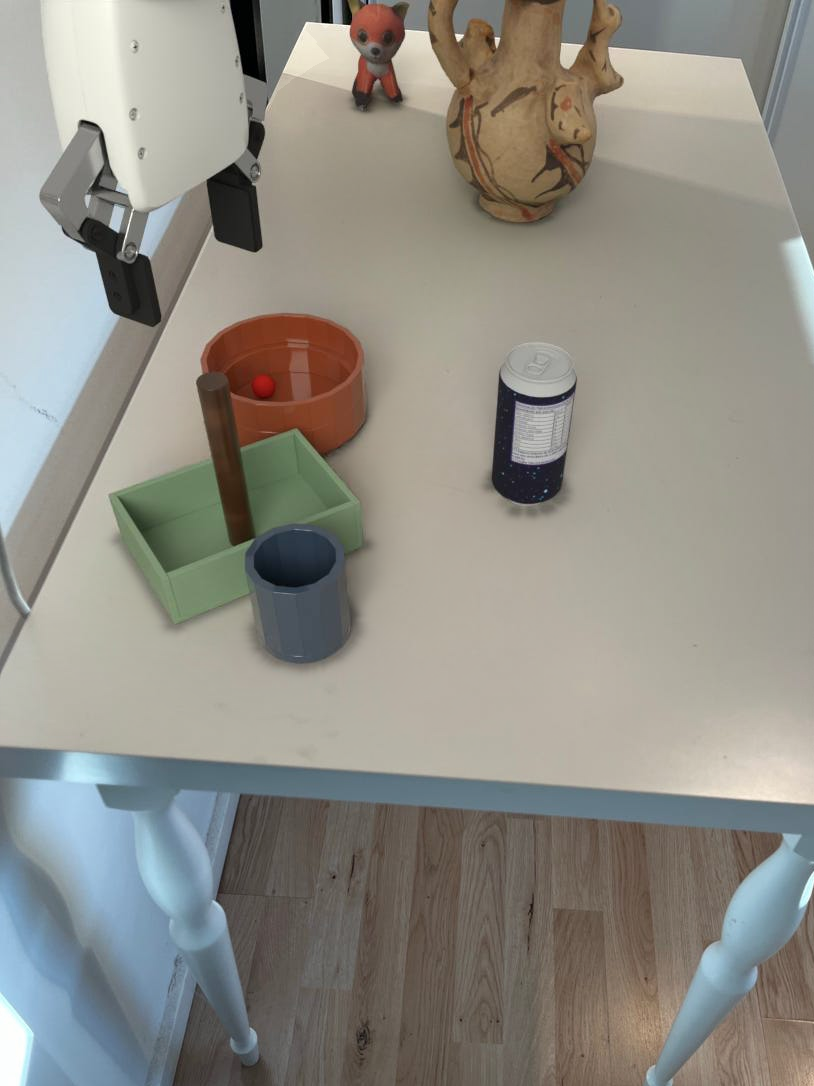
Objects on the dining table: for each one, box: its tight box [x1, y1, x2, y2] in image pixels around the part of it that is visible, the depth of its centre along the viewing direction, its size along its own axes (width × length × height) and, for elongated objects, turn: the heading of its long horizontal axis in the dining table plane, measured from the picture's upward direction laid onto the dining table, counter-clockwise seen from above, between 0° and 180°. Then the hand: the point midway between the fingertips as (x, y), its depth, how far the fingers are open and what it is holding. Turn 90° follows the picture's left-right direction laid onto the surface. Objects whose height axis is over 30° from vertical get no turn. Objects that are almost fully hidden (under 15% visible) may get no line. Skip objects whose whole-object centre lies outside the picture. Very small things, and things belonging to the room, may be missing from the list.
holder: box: [245, 523, 352, 664], centre depth 66 cm, size 6×6×7 cm
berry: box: [252, 374, 276, 398], centre depth 83 cm, size 2×2×2 cm
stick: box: [195, 372, 256, 546], centre depth 68 cm, size 2×2×14 cm
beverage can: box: [491, 341, 578, 507], centre depth 74 cm, size 6×6×12 cm
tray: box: [107, 428, 364, 625], centre depth 72 cm, size 15×10×4 cm, turn 124°
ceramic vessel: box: [427, 0, 625, 224], centre depth 101 cm, size 18×19×25 cm
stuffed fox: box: [347, 0, 410, 112], centre depth 123 cm, size 8×11×12 cm
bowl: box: [199, 312, 368, 457], centre depth 81 cm, size 13×13×6 cm
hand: (190, 280), depth 58 cm, fingers open, 9 cm apart
